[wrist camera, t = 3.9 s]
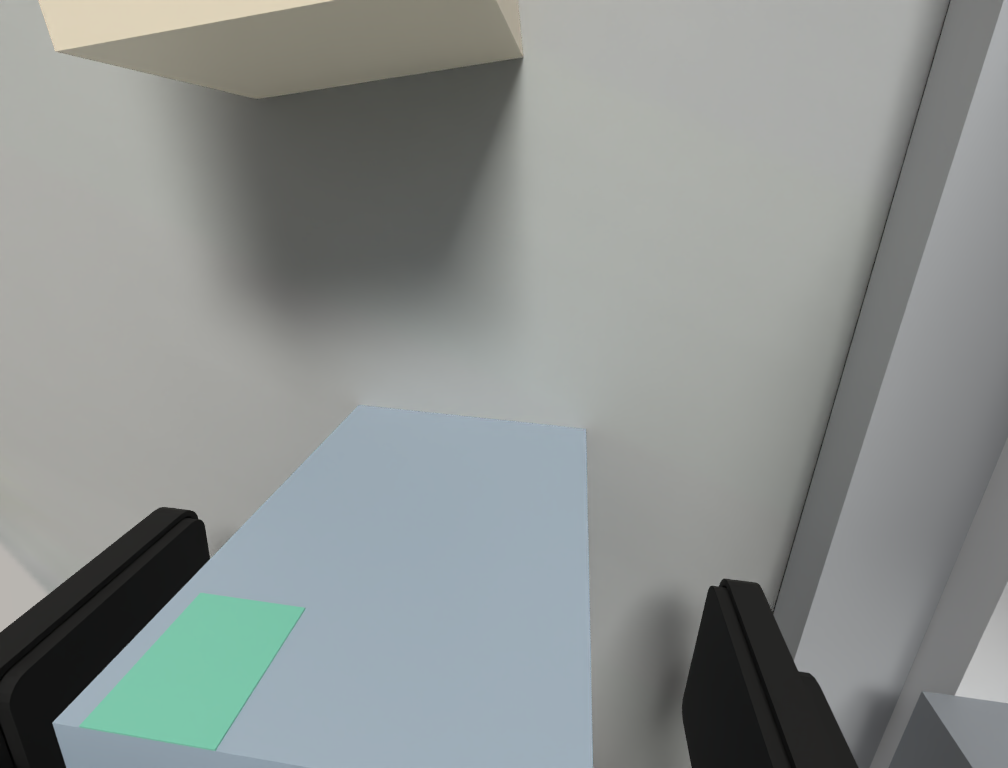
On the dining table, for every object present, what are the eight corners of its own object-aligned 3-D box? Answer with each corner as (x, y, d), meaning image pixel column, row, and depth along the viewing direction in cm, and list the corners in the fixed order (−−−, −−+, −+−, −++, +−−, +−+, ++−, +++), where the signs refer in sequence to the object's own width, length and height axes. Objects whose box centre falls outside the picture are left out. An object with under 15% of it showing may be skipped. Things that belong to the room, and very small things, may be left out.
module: (359, 403, 11) (52, 720, 5) (586, 427, 11) (595, 814, 4) (367, 637, 13) (165, 1078, 7) (557, 665, 13) (533, 1165, 6)
